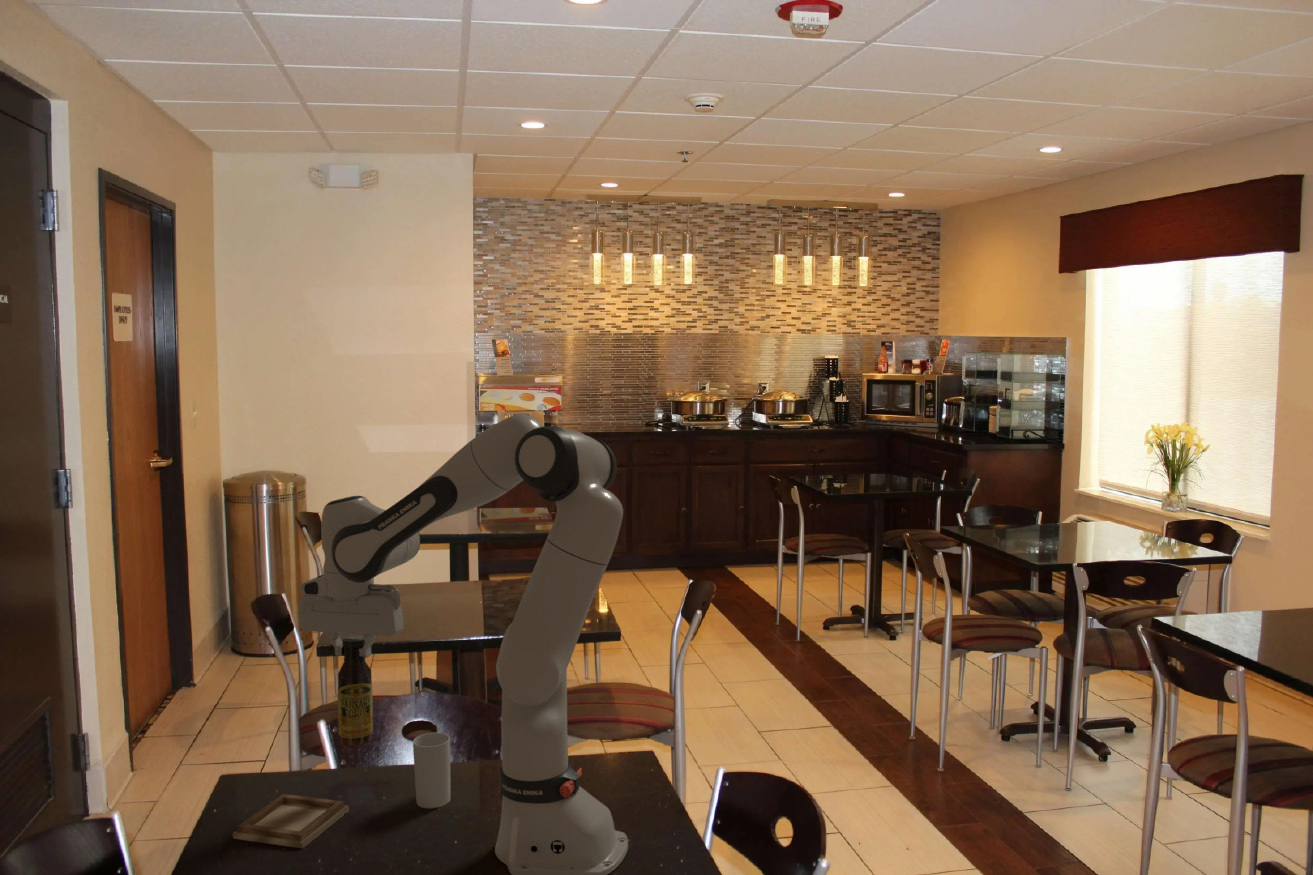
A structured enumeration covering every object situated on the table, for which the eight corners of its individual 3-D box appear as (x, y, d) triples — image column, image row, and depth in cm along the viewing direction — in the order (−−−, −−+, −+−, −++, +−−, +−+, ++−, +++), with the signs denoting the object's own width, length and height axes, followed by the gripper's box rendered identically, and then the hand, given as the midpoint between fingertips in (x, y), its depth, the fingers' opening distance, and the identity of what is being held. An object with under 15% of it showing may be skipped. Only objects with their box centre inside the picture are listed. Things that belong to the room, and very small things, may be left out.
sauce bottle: (339, 750, 183) (333, 645, 181) (338, 737, 189) (332, 636, 187) (376, 744, 185) (370, 640, 183) (373, 732, 191) (368, 631, 189)
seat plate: (348, 810, 183) (348, 800, 183) (302, 848, 170) (302, 837, 169) (283, 802, 187) (282, 792, 186) (233, 838, 173) (232, 827, 173)
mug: (446, 809, 183) (444, 746, 182) (410, 809, 183) (408, 746, 182) (459, 785, 193) (457, 725, 192) (425, 785, 193) (423, 725, 192)
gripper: (408, 581, 184) (411, 653, 186) (312, 577, 190) (316, 647, 191) (390, 589, 178) (394, 664, 180) (291, 585, 184) (296, 657, 185)
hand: (353, 655), depth 185 cm, fingers closed on sauce bottle, 4 cm apart
